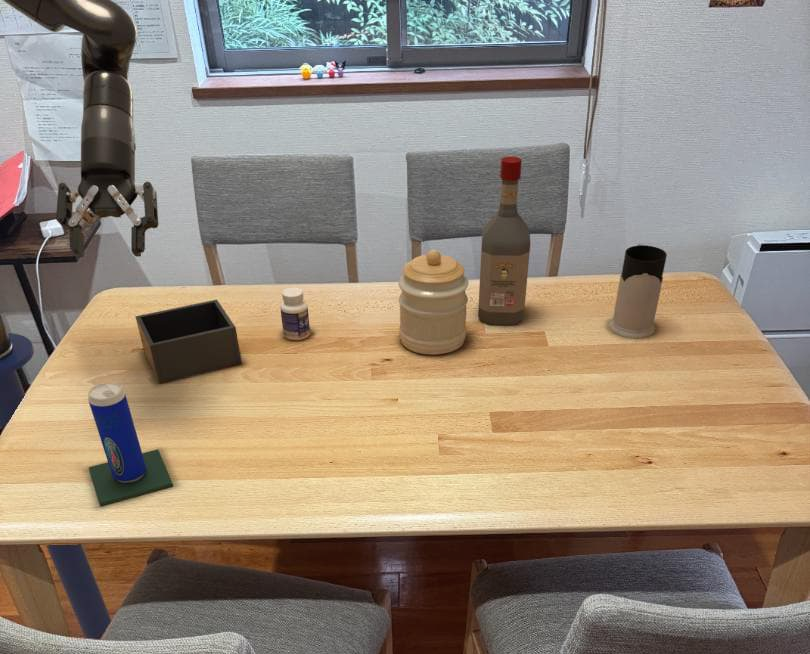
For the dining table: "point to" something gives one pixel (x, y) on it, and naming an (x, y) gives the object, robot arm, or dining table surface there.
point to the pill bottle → (294, 314)
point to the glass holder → (638, 291)
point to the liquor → (505, 255)
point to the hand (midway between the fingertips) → (107, 254)
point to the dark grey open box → (189, 340)
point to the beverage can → (117, 431)
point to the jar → (433, 304)
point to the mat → (117, 491)
